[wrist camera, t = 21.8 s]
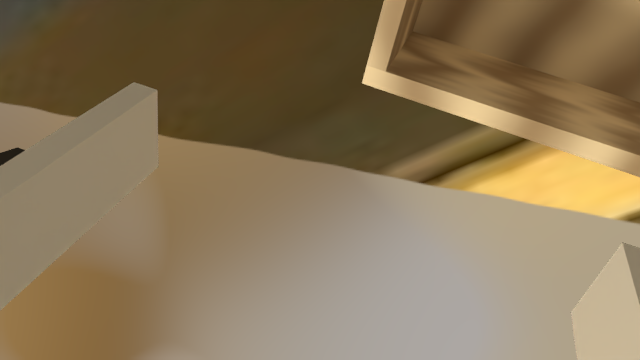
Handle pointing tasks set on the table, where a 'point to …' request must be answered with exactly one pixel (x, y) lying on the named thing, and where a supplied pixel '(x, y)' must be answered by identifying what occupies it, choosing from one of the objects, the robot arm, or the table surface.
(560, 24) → the box
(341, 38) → the table surface
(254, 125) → the table surface
